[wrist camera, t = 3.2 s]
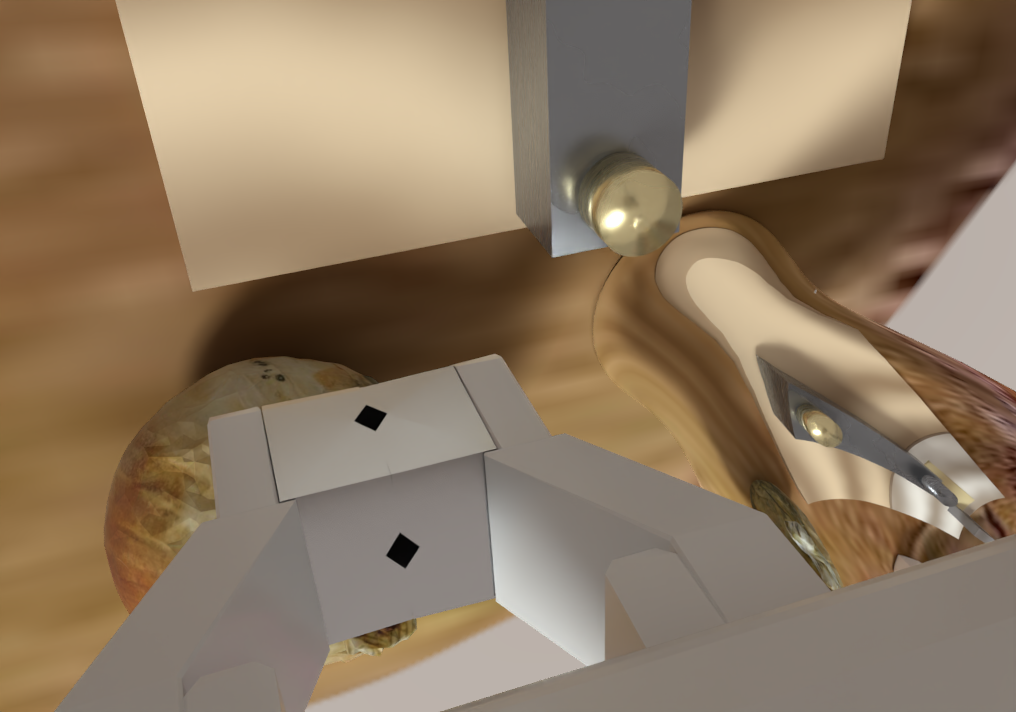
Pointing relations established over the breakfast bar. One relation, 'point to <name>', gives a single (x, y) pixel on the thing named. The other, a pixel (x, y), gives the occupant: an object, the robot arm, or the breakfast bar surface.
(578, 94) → the bar
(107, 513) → the onion
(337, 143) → the door board
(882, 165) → the breakfast bar surface
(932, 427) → the beer glass
